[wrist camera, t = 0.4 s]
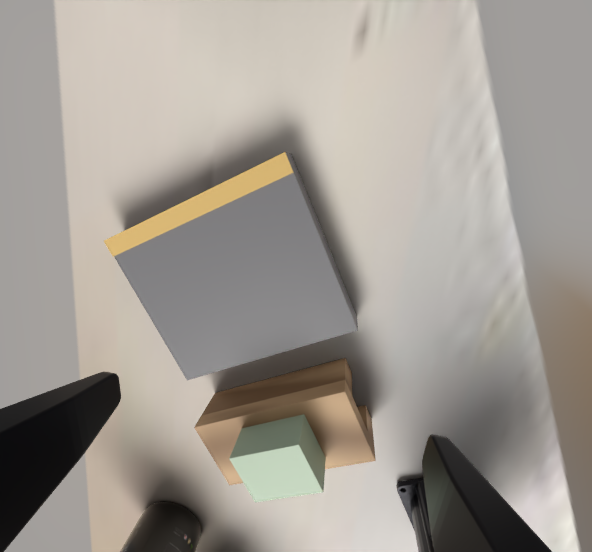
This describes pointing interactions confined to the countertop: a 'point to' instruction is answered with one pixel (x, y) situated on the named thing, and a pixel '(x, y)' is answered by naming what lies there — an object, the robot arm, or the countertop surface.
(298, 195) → the dock
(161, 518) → the supplement bottle
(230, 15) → the countertop surface
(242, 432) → the pale green block
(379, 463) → the countertop surface
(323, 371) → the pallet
